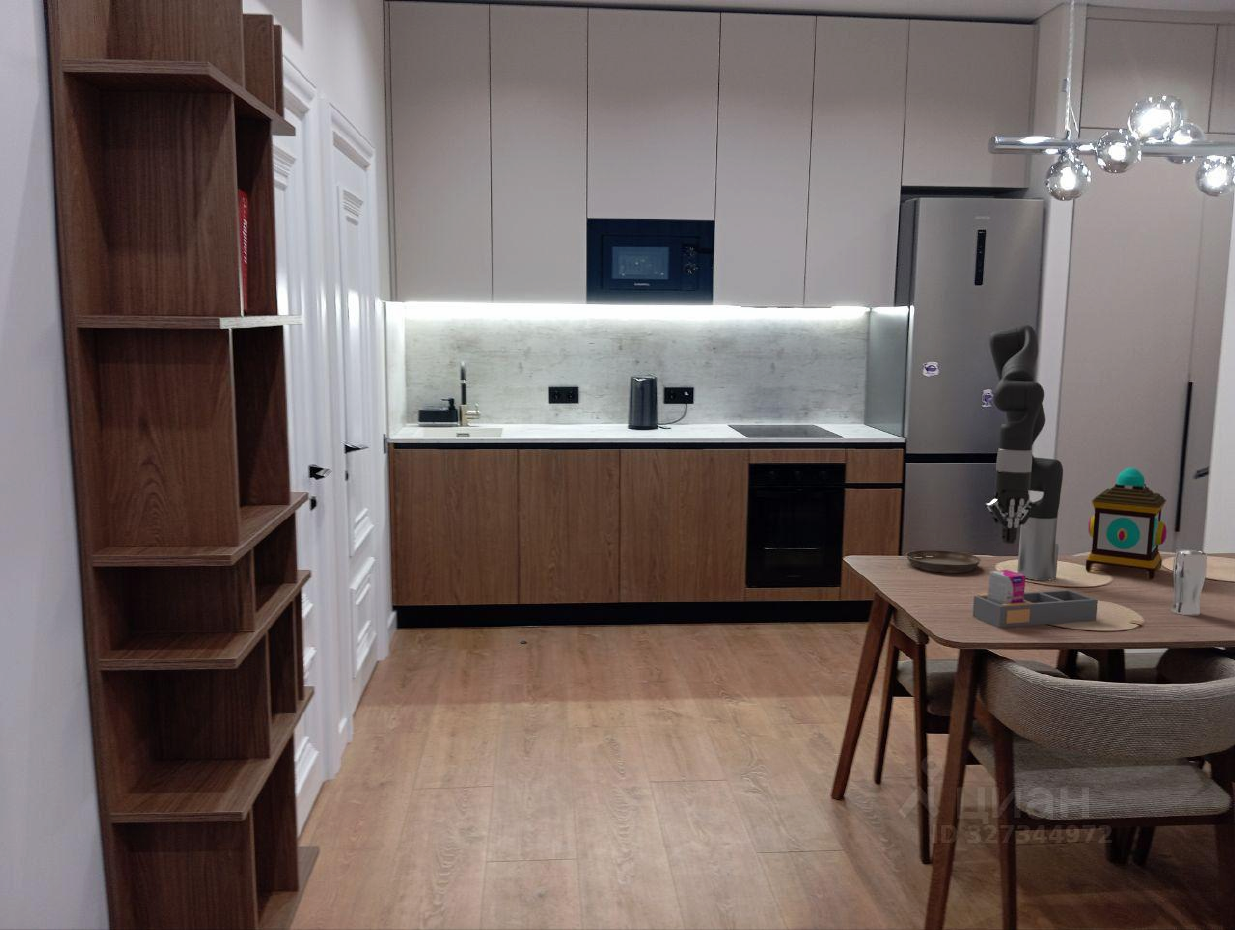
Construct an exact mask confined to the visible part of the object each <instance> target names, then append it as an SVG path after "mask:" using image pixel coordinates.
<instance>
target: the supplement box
mask: <svg viewBox="0 0 1235 930" xmlns="http://www.w3.org/2000/svg"><path fill="white" fill-rule="evenodd" d="M988 576H989V578H988V587H987V588H988V589H987V594H988V598H987V600H990V601H992V602H994V603H997V604H999V605H1001V604H1009V603H1023V598H1024V593H1025V588H1026V579H1025V578H1026V576H1025V575H1022V574H1019V573H1017V572H1015V571H1012V570H1009V569H1003V570H1002V569H1001V570H993V571H989V575H988Z"/></svg>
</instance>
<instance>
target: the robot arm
mask: <svg viewBox="0 0 1235 930" xmlns="http://www.w3.org/2000/svg"><path fill="white" fill-rule="evenodd" d="M989 348H990V353H991V356H992V361H993V364H994V368H995V370H996V374H997V377H998V380H999V381H998V383H997V384H996V386H995V388H994V392H993V397H992V398H993V404H994V406H995V408H997V410H999V412H1000V411H1001V412H1004V413H1005V415H1006V420H1007V422H1006V423H1003V424H1001V426H1000V428H999V438H998V439H999V440H998V450H997V456H996V465H995V466H996V467H995V477H994V479H995V481H994V487H995V493H994V495H993V499H992V500H991V501H990V502H986V503H985V504H984V507H985V509H986V510H987V513H988V515H990V517H991V519H992V521H993V522H994V523H995V525H999V526H1001V527H1002V529H1001V531H1002V532H1001V540H1002V542H1003V543H1005V544H1008V545H1010V544H1012V545H1013V544H1015V542H1016V541H1017V530H1018V528H1019V526H1020V528H1019V529H1020V530H1019V531H1020V532H1019V542H1018V543H1019V545H1018V558H1017V572H1016V573H1019V574H1022V575H1025V576H1026V578H1029V579H1028V580H1030V579H1037V580H1036V581H1050V580H1049V579H1052V578H1053V579H1057V572H1058V570H1057V569H1058V558H1059V557H1058V556H1059V544H1058V543H1057V528H1058V517H1059V516H1058V515H1059V509H1060V503H1061V493H1062V486H1063V478H1064V467H1063V464H1062V462H1061V461H1060V460H1058V459H1054V458H1043V457H1035V456H1034V455H1033V452H1032V451H1033V450H1032V448H1033V445H1034V443H1035V441H1036V440H1037V438H1038V437H1039V436H1040V434H1041V433H1042V431H1043V428H1044V427H1045V425H1046V414H1045V410H1044V409H1045V408H1044V405H1043V403H1044V399H1045V390H1044V388H1043V386H1042V385H1041V384H1040V383H1039V382H1038V381H1035V376H1034V375H1035V374H1034V373H1035V372H1034V370H1035V366H1036V363H1037V359H1038V355H1039V344H1038V338H1037V334H1036V330H1034V328H1033V327H1032V326H1031V325H1027V324H1024V325H1016V326H1012V327H1007V328H1002V329H997V330H995V331H993V332H991V333H990V336H989ZM1029 491H1031V492H1041V493H1042V498H1041V499H1039V500H1036V501H1032V500H1031V499H1030V494H1029ZM1053 579H1052V580H1053Z"/></svg>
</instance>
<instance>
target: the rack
mask: <svg viewBox="0 0 1235 930" xmlns="http://www.w3.org/2000/svg"><path fill="white" fill-rule="evenodd" d="M987 598H988V593H980V594H977V595H973V606H972V617H973V618H976V619H977V620H980V621H982V622H984V623H986V624H989V625H991V626H993V627H996V628H998V629H1004V628H1017V627H1019V628H1020V627H1029V626H1042V625H1044V626H1045V625H1058V624H1068V623H1069V624H1071V623H1083V622H1093V621H1094V622H1095V621H1097V615H1098V603H1099V599H1097V598H1094V597H1091V596H1087V595H1085V594H1083V593H1079V592H1076V591H1074V590H1070V589H1059V590H1057V589H1056V590H1044V591H1043V590H1042V591H1041V590H1040V591H1028V592H1027V591H1026V592H1024V598H1023V603H1009V604H1001V605H999V604H997V603H994V602H992V601H990V600H987Z"/></svg>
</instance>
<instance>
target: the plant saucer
mask: <svg viewBox="0 0 1235 930" xmlns="http://www.w3.org/2000/svg"><path fill="white" fill-rule="evenodd" d="M926 556H933V557H926ZM905 557H906V558H907V561H908V562H910V564H911V565H912V566H913V567H915V568H917V569H920V570H922V571H923V570H924V571H928V572H934V573H943V574H944V573H946V574H961V573H962V574H963V573H967V572H968V573H969V572H970V571H973V570H974V569H975V568H977V566H978V565H979V564H980V563H981V561H982V559H981V558H980V557H979V556H976V555H973V554H969V553H965V552H961V551H960V552H958V551H954V550H953V551H951V550H941V549H940V550H938V549H923V550H912V551H908V552H906V553H905ZM914 557H922V558H914Z"/></svg>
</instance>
